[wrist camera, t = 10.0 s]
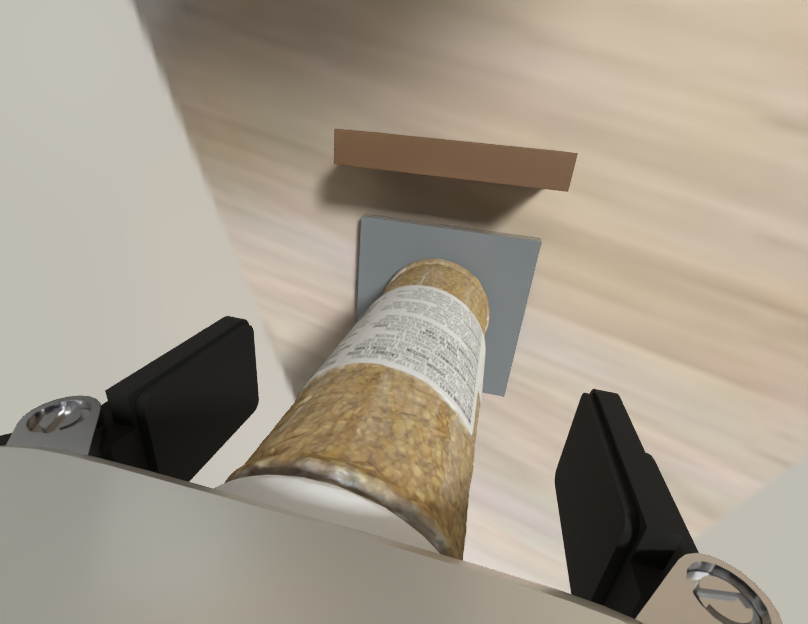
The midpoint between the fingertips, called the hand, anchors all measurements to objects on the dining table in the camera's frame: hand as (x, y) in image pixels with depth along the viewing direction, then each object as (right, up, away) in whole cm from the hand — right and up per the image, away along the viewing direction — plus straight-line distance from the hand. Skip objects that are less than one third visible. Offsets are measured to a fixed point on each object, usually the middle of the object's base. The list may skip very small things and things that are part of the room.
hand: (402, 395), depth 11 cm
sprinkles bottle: (+1, +3, +6) cm, 6 cm away
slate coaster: (+2, +3, +6) cm, 7 cm away
